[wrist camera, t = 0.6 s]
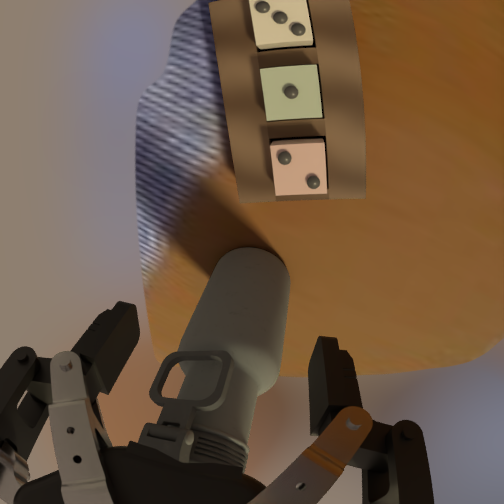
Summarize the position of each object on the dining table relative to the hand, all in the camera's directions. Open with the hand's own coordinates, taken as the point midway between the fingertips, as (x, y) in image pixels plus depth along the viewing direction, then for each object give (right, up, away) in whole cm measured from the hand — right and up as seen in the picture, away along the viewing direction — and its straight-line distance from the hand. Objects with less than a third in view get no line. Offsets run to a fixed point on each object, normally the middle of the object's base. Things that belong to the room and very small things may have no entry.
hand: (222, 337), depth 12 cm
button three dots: (+4, +23, +6) cm, 24 cm away
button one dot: (+5, +17, +10) cm, 20 cm away
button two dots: (+6, +12, +13) cm, 18 cm away
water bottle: (+1, +1, +25) cm, 25 cm away
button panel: (+5, +19, +13) cm, 23 cm away
